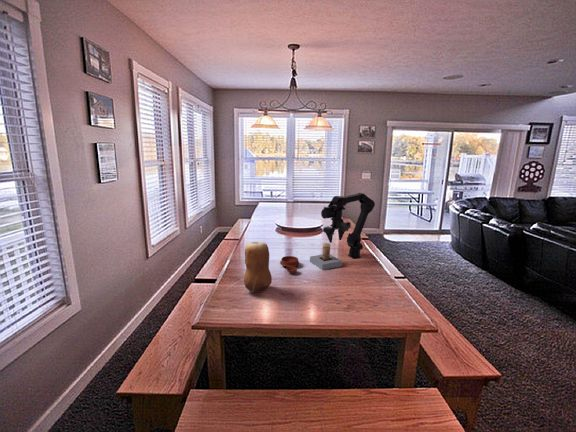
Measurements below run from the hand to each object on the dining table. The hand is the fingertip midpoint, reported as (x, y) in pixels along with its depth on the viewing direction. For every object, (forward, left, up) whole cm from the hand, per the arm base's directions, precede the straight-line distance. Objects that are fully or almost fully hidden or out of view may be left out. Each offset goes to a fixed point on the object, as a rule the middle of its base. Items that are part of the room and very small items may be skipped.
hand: (335, 241), depth 183 cm
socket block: (+8, +2, -13) cm, 15 cm away
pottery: (+31, -1, -13) cm, 34 cm away
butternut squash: (+58, +17, -13) cm, 62 cm away
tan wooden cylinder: (+8, +2, -13) cm, 15 cm away
